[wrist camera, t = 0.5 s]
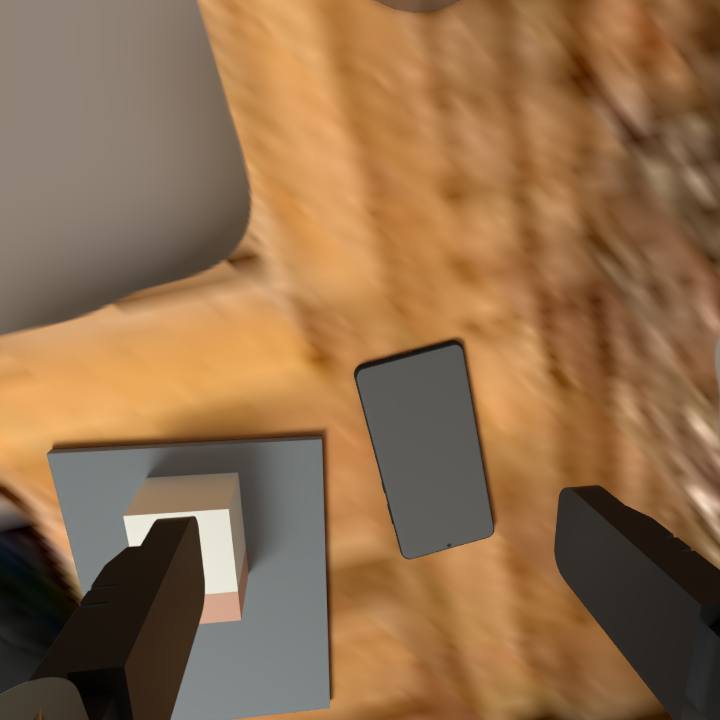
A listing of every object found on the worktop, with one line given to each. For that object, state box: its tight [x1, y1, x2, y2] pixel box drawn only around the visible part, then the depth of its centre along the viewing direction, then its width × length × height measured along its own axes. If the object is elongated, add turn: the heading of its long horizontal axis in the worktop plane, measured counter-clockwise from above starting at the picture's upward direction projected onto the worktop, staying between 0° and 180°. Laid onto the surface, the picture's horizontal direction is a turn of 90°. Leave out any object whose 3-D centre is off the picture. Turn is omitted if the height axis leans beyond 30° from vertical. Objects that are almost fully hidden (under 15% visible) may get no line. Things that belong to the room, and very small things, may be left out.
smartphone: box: [354, 341, 494, 559], centre depth 30 cm, size 7×1×15 cm
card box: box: [123, 472, 249, 624], centre depth 27 cm, size 8×6×4 cm
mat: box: [47, 435, 330, 720], centre depth 31 cm, size 24×16×1 cm, turn 0°
